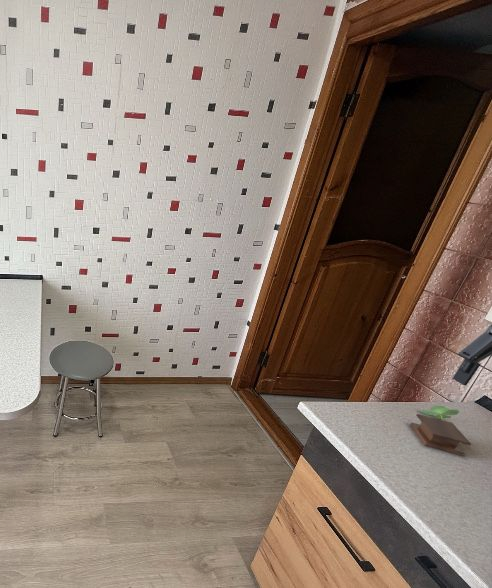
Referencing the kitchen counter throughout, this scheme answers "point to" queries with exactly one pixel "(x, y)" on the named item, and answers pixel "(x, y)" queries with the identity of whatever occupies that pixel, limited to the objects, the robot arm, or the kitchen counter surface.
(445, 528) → the kitchen counter surface
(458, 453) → the plant stand
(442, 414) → the seedling
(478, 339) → the robot arm
